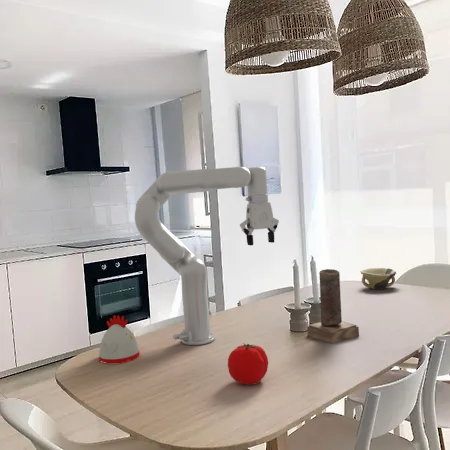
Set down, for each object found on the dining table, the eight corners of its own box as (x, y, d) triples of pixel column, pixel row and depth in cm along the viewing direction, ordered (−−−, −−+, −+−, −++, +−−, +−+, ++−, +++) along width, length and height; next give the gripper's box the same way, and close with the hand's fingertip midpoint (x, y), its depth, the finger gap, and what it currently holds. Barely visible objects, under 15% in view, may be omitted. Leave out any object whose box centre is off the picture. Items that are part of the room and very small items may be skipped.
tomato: (239, 393, 134) (236, 352, 133) (222, 379, 144) (220, 342, 144) (277, 383, 139) (274, 344, 138) (258, 371, 149) (256, 335, 148)
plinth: (331, 343, 170) (330, 332, 170) (307, 335, 182) (306, 324, 182) (359, 335, 177) (358, 324, 177) (334, 328, 188) (333, 318, 188)
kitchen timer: (126, 365, 164) (122, 320, 163) (91, 363, 169) (87, 320, 168) (146, 351, 177) (143, 310, 176) (114, 350, 182) (110, 310, 181)
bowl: (363, 292, 248) (362, 273, 247) (359, 285, 265) (358, 268, 265) (399, 291, 245) (398, 272, 244) (393, 284, 262) (392, 266, 262)
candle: (341, 321, 182) (338, 268, 181) (343, 327, 175) (340, 271, 174) (320, 322, 183) (317, 269, 182) (322, 328, 176) (318, 272, 175)
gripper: (244, 200, 181) (247, 246, 182) (282, 197, 189) (285, 241, 190) (233, 201, 188) (236, 245, 189) (270, 198, 196) (273, 240, 197)
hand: (261, 243), depth 190 cm, fingers open, 9 cm apart
